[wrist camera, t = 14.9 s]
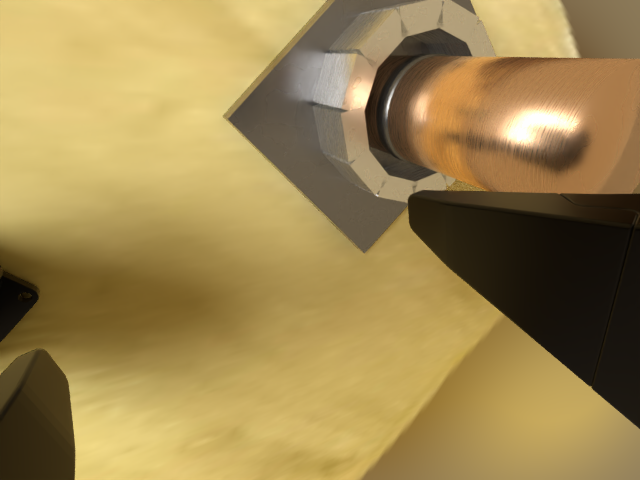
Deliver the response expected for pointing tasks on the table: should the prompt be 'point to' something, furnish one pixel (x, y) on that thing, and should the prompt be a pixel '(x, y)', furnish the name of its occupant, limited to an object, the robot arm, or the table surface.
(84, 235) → the table surface
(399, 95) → the tan cylinder
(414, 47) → the plate
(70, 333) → the table surface
